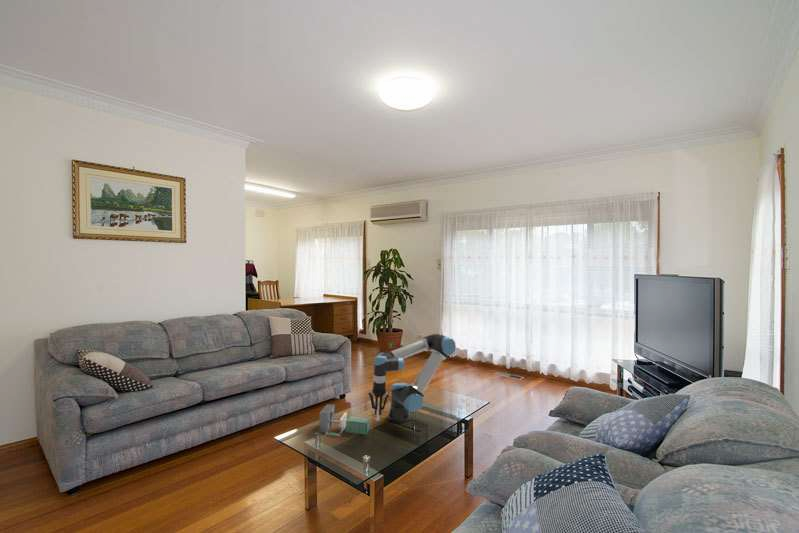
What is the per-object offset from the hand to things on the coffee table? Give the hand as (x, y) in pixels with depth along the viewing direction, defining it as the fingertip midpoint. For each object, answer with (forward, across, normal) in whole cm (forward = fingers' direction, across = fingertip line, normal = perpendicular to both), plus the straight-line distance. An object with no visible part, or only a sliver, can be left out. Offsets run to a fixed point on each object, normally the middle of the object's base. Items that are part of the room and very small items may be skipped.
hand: (377, 420), depth 225 cm
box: (+8, +12, 0) cm, 14 cm away
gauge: (+8, +28, +1) cm, 29 cm away
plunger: (+8, +28, +1) cm, 29 cm away
